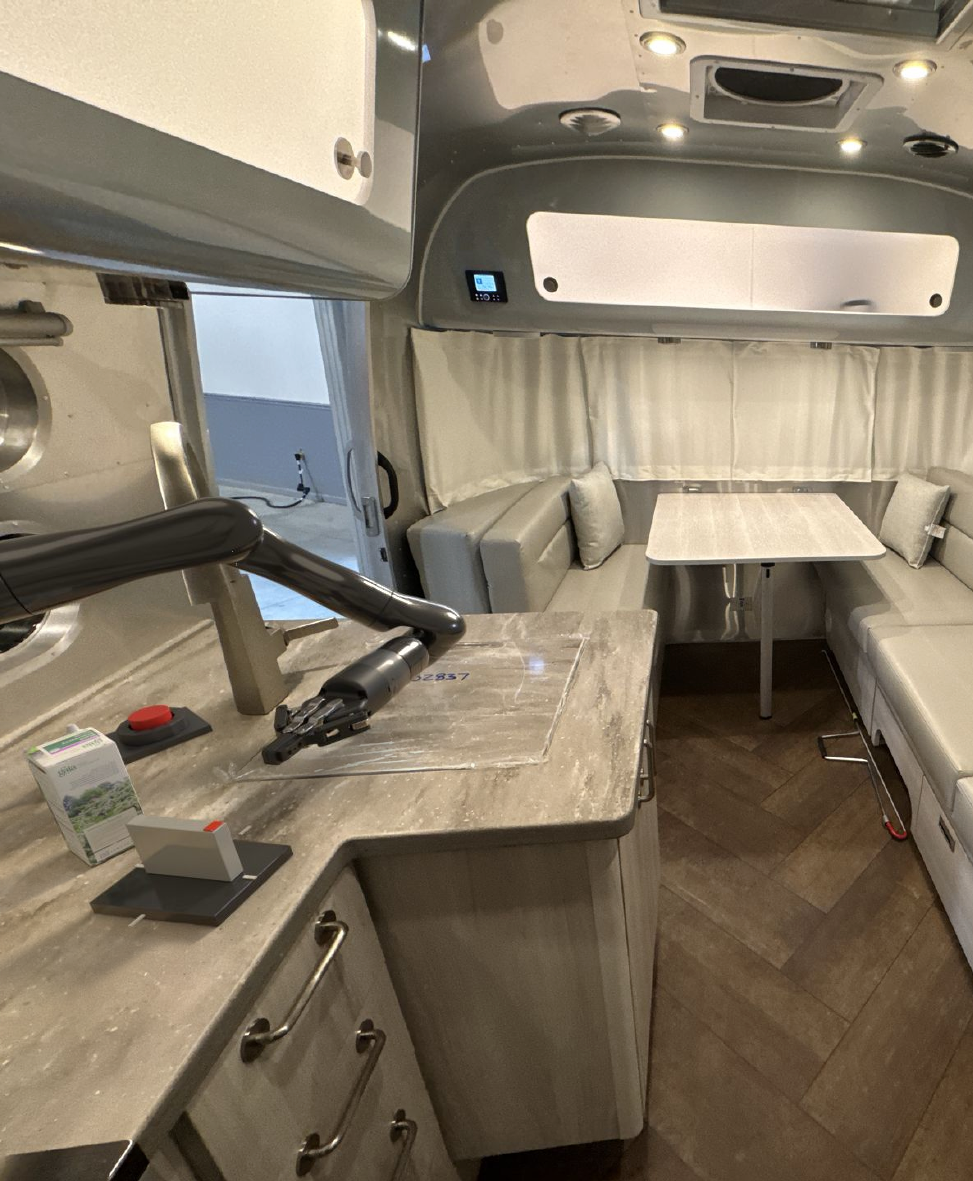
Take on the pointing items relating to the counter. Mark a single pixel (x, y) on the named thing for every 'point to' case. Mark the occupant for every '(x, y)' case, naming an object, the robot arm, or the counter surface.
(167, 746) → the black button base
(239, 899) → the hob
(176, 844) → the gray battery pack
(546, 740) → the counter surface
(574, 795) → the counter surface
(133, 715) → the power button
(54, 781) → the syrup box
